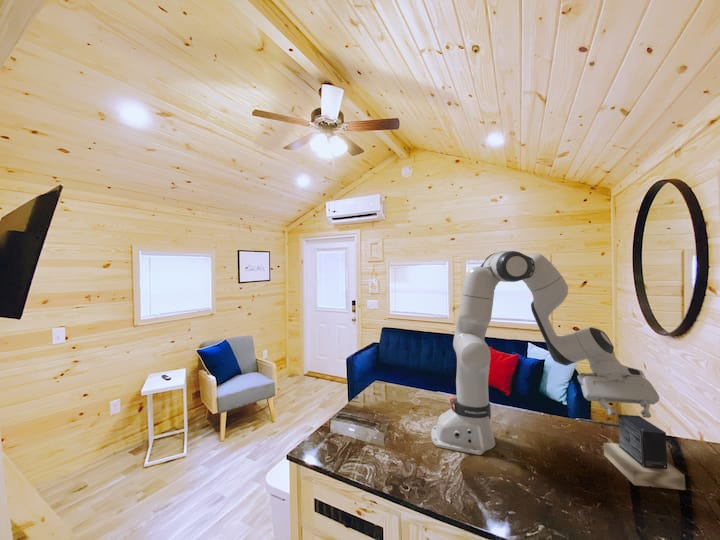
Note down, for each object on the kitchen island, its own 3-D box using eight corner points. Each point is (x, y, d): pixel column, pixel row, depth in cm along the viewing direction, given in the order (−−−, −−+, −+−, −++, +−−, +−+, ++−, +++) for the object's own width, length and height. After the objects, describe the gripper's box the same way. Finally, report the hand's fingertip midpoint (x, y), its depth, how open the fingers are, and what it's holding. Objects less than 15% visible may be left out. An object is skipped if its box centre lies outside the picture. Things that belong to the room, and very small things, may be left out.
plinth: (634, 485, 83) (633, 470, 83) (604, 454, 96) (603, 442, 96) (685, 490, 80) (684, 475, 80) (646, 458, 94) (646, 445, 94)
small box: (670, 470, 82) (668, 432, 83) (643, 468, 84) (641, 431, 84) (641, 448, 93) (639, 414, 93) (618, 446, 94) (616, 413, 94)
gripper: (578, 368, 102) (595, 409, 92) (648, 371, 97) (673, 414, 88) (572, 376, 106) (588, 416, 96) (638, 379, 102) (662, 422, 92)
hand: (629, 415), depth 92 cm, fingers open, 8 cm apart
